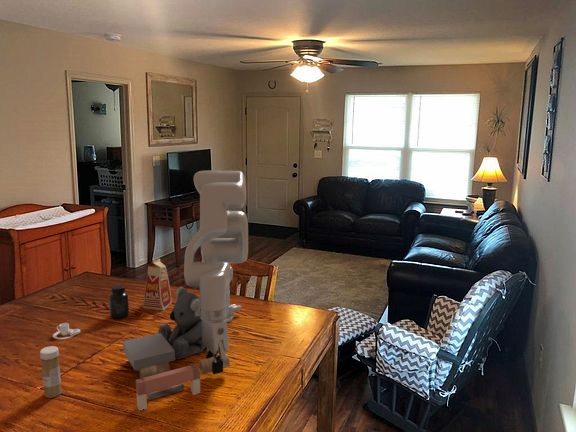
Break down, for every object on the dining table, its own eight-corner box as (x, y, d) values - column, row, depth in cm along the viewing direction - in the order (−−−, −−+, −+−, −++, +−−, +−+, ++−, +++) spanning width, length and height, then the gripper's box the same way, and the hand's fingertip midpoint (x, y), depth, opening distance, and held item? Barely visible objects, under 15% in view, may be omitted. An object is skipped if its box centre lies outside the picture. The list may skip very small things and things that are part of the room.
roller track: (157, 352, 159) (156, 340, 158) (183, 389, 138) (183, 376, 137) (126, 360, 154) (125, 348, 153) (148, 400, 132) (147, 386, 132)
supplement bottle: (110, 314, 189) (108, 284, 186) (129, 312, 191) (127, 283, 188) (110, 321, 182) (108, 290, 180) (129, 318, 185) (127, 289, 182)
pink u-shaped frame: (197, 389, 138) (196, 363, 136) (200, 392, 136) (199, 366, 135) (137, 407, 129) (135, 379, 128) (139, 411, 128) (137, 383, 126)
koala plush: (154, 342, 166) (152, 288, 162) (202, 329, 176) (200, 278, 172) (175, 363, 152) (172, 305, 148) (225, 348, 163) (224, 293, 159)
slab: (161, 341, 157) (160, 332, 157) (175, 360, 146) (174, 350, 145) (123, 350, 151) (122, 341, 151) (134, 370, 140) (133, 360, 139)
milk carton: (163, 310, 193) (161, 262, 189) (142, 308, 195) (139, 260, 191) (173, 302, 202) (171, 255, 198) (152, 300, 203) (150, 254, 199)
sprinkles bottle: (41, 394, 135) (36, 349, 132) (57, 387, 138) (53, 343, 135) (48, 400, 132) (44, 355, 129) (65, 393, 135) (61, 349, 132)
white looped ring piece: (84, 333, 173) (83, 322, 172) (65, 342, 166) (64, 331, 165) (66, 328, 176) (65, 318, 176) (47, 337, 169) (46, 326, 168)
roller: (224, 363, 148) (224, 351, 147) (229, 369, 144) (229, 357, 144) (199, 370, 144) (199, 358, 143) (204, 376, 140) (204, 364, 139)
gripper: (237, 320, 135) (238, 379, 139) (214, 299, 149) (215, 353, 153) (212, 326, 131) (213, 386, 135) (190, 304, 145) (192, 359, 149)
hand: (214, 368), depth 144 cm, fingers closed on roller, 4 cm apart
